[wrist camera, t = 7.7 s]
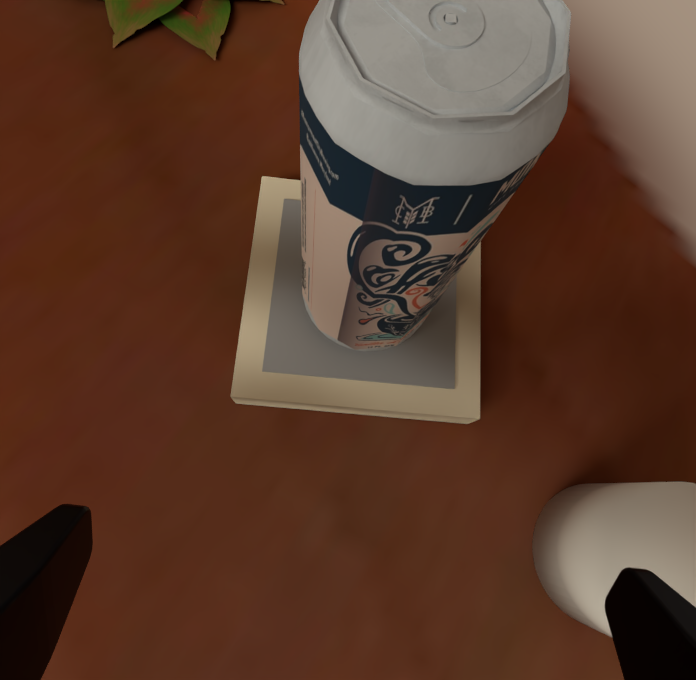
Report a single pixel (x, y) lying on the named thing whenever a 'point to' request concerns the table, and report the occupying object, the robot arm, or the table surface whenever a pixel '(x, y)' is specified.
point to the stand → (341, 362)
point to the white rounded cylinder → (614, 542)
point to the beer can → (415, 147)
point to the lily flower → (172, 20)
